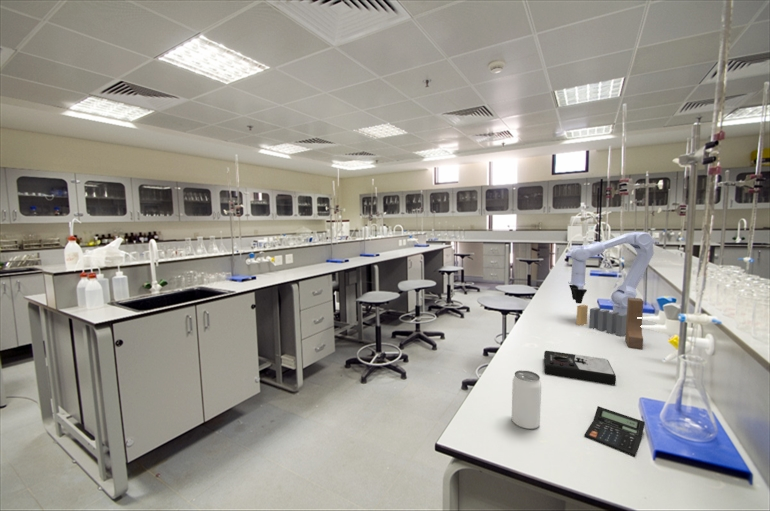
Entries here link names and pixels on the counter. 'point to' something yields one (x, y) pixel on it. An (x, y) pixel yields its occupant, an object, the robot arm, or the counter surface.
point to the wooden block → (634, 323)
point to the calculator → (616, 431)
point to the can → (526, 399)
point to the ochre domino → (582, 314)
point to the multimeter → (579, 367)
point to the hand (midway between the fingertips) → (576, 301)
